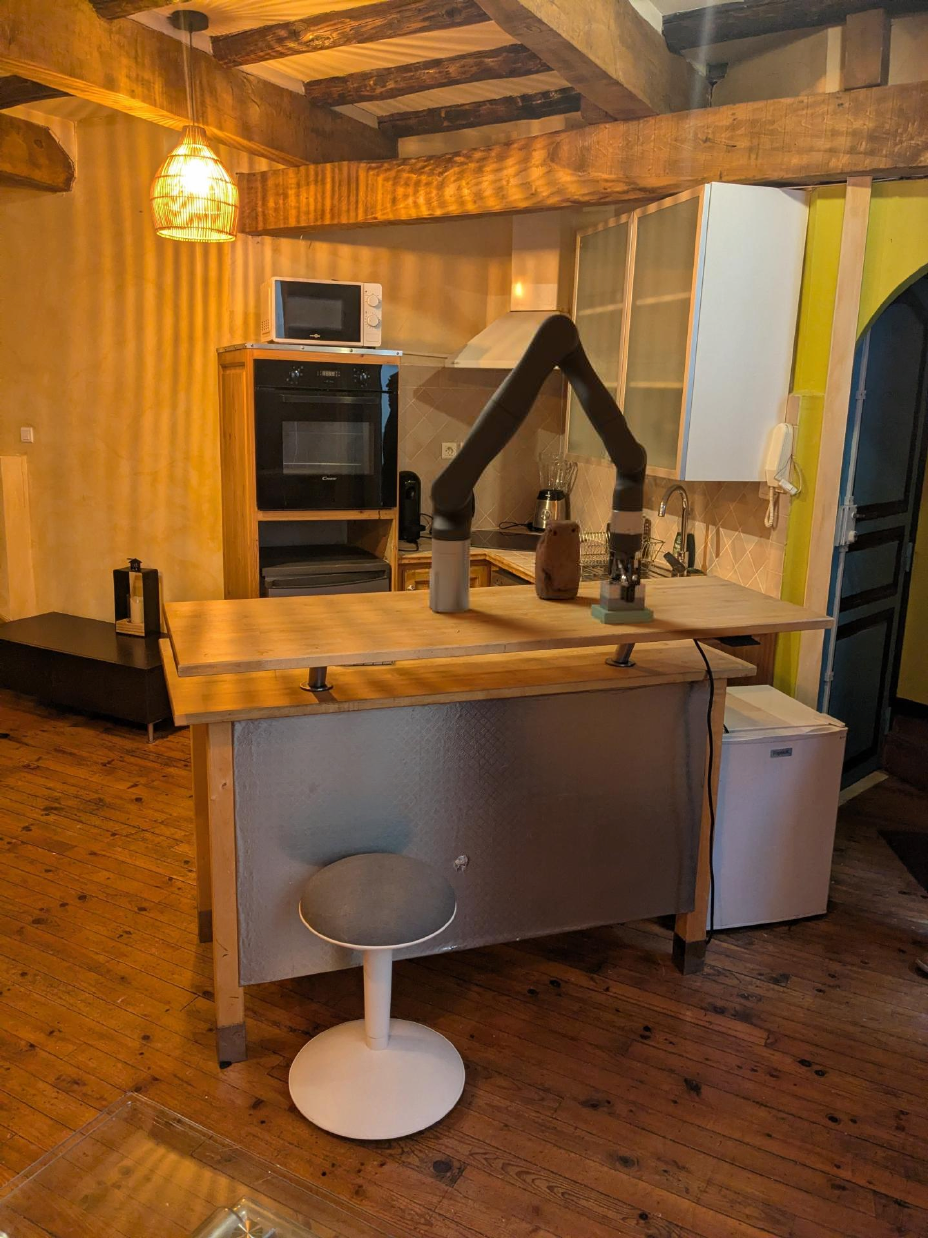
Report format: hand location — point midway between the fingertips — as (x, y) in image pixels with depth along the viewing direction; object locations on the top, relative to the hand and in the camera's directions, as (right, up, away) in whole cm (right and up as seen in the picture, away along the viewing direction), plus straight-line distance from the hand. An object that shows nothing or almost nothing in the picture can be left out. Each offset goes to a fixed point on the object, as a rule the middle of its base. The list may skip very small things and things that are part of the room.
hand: (622, 598), depth 222 cm
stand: (0, -5, +1) cm, 5 cm away
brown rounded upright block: (-13, +1, +24) cm, 27 cm away
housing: (0, -2, +1) cm, 2 cm away
